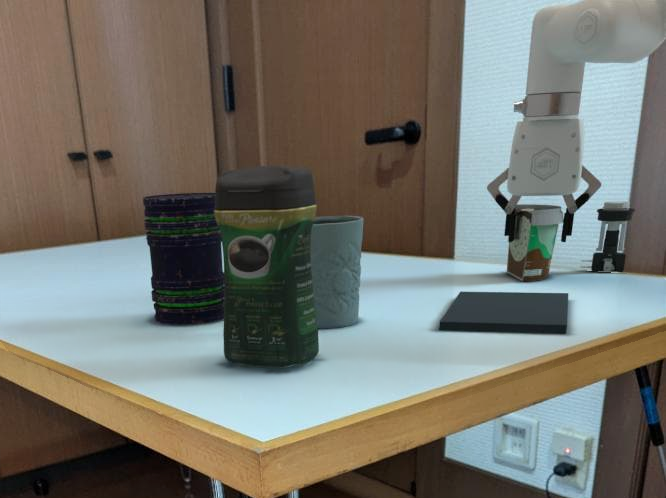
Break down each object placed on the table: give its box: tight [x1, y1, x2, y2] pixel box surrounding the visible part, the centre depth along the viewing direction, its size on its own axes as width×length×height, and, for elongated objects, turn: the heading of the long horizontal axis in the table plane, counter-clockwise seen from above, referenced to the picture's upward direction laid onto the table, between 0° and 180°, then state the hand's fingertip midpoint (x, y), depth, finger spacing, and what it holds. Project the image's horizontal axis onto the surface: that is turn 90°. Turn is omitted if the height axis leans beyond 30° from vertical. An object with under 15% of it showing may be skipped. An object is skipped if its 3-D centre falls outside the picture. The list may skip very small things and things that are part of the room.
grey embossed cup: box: [310, 215, 365, 330], centre depth 98 cm, size 10×10×12 cm
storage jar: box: [142, 192, 224, 326], centre depth 103 cm, size 10×10×15 cm
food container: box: [506, 203, 564, 282], centre depth 122 cm, size 12×6×10 cm, turn 179°
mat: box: [438, 291, 569, 335], centre depth 99 cm, size 14×20×1 cm
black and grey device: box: [579, 200, 636, 273], centre depth 124 cm, size 7×5×10 cm
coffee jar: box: [214, 165, 320, 369], centre depth 80 cm, size 10×8×19 cm
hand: (537, 240), depth 122 cm, fingers closed on food container, 7 cm apart
